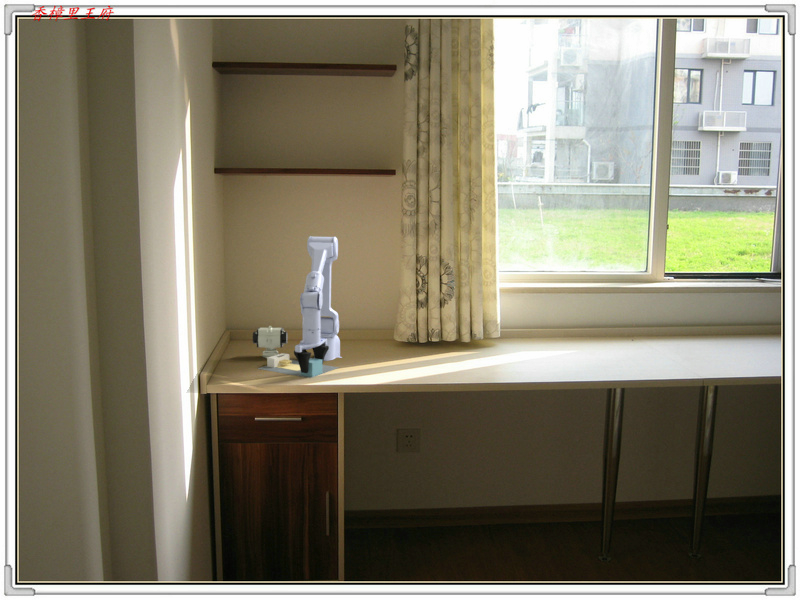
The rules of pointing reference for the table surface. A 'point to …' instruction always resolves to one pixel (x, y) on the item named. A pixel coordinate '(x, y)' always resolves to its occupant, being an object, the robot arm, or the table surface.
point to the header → (278, 360)
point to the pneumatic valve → (270, 339)
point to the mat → (294, 369)
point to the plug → (314, 367)
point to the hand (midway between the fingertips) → (311, 370)
